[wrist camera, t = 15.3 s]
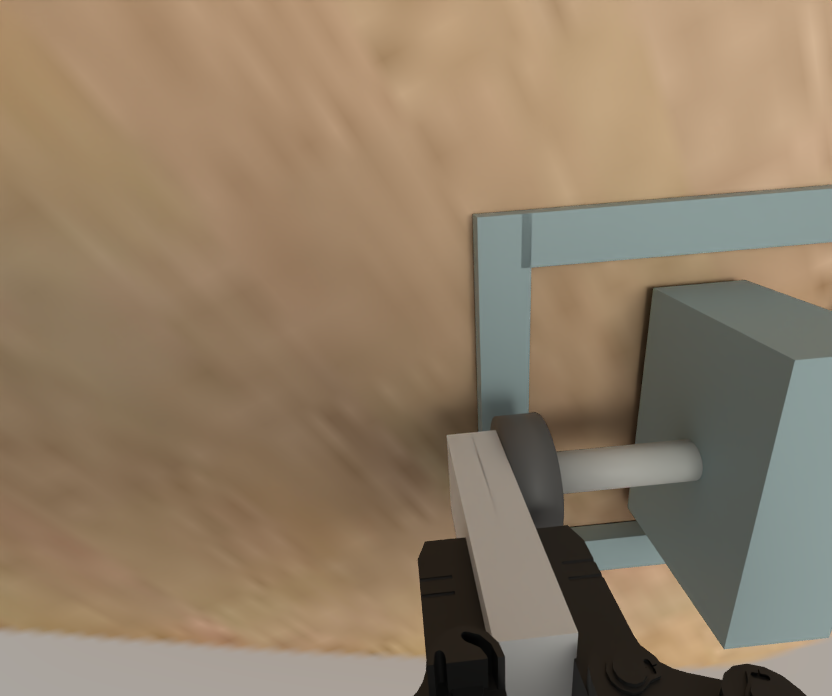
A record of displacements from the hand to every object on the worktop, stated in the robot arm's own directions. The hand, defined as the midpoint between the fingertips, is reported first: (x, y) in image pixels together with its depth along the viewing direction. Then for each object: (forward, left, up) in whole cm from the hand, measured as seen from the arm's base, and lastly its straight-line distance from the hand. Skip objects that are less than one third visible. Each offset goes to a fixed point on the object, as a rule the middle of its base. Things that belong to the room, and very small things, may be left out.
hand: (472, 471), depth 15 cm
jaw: (+5, 0, -3) cm, 6 cm away
